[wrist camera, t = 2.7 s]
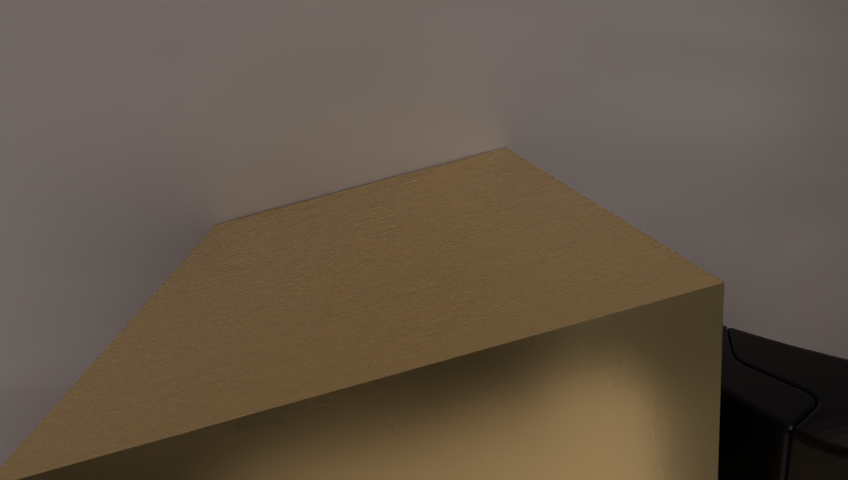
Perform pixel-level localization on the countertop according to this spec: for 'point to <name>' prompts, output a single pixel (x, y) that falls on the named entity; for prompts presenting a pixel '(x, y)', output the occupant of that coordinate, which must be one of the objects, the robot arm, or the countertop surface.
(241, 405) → the tan cardboard cube
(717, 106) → the countertop surface
